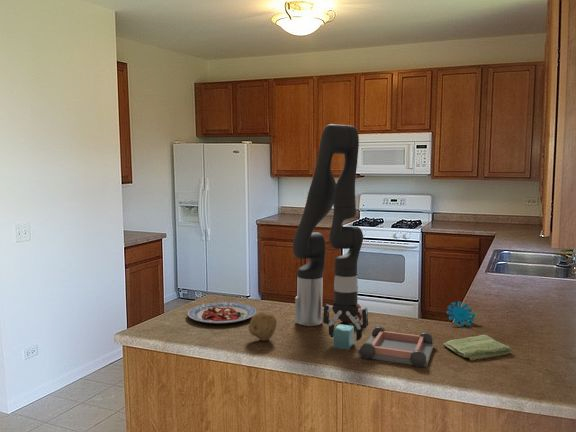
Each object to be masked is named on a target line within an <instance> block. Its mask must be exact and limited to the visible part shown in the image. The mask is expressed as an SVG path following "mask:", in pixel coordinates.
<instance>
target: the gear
mask: <svg viewBox="0 0 576 432" xmlns="http://www.w3.org/2000/svg"><path fill="white" fill-rule="evenodd" d="M462 304H463V303H462V302H461V301H457V303H456V302H455V301H454V302H453V301H452V302H451V304H449V305H448V306H447V309H448V310H447V311H446V314H447V315H449V316H448V319H449V320H450V321H452V320H454V321H453V322H452V323H453V324H454V325H455V326H456V325H457V324H458V323H459V322H460V323H459V326H460V327H462V328H463V327H464V326H466V327H470V325H471V324H472V323H474V321H475V320H474V319H475V318H476V317H477V316H478V313H476V312H475V313H472V312H473V309H472V307H469V306H468V304H467V303H464V304H463V306H461V305H462ZM467 307H469V308H467ZM464 322H465V323H464ZM464 324H465V325H464Z"/></svg>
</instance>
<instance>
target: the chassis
mask: <svg viewBox="0 0 576 432" xmlns="http://www.w3.org/2000/svg"><path fill="white" fill-rule="evenodd" d="M433 341H434V338H433V335H432V334H431V333H430V332H427V331H423V332H421V333H420V334H419V335H418V334H411V333H410V334H409V333H403V332H397V331H396V332H393V331H387V330H386V328H385V327H383V326H380V325H379V326H376V327H374V329H373V330H372V331H371V335H370V336H369V338H368V339H367V341H366V342H365V343H363V344H362V346H361V347H360V349H359V355H358V356H359V358H363V359H365V360H378V361H384V362H390V363H397V364H404V365H410V366H411V365H412V366H414V367H416V368H423V367H425V368H428V366H429V361H430V360H431V359H430V358H431V355H432V353H433V350H434V342H433Z"/></svg>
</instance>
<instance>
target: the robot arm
mask: <svg viewBox="0 0 576 432" xmlns="http://www.w3.org/2000/svg"><path fill="white" fill-rule="evenodd" d="M320 137H321V138H320V142H319V148H318V153H317V160H316V164H315V168H314V172H313V176H312V180H311V183H310V186H309V189H308V194H307V197H306V202H305V206H304V209H303V213H302V217H301V219H300V222H299V225H298V227H297V229H296V232H295V234H294V238H293V241H292V253H293V254H294V257H295V258H297V259H302V260H304V259H306V260H307V259H309V260H308V261H307V262H306V263H305V264H303V265H301V266H300V267H298V268H297V275H296V277H297V278H296V279H297V284H296V287H297V289H296V291H297V292H296V295H297V296H295V299H294V307H295V308H294V311H295V312H294V323H295V324H298V325H301V326H306V327H314V326H319V325H321V324H322V323H323V324H325V325H327V326H328V335H329V336H330V338H334V329H335V323H336V321H337V320H340V321H341V320H346V321H350V320H351V321H352V322H353V324H354V327H356V334H355V335H356V341H360V340H361V339H362V337H363V329H366V328H367V327H368V326H369V317H368V316H369V314H368V310H369V309H368V308H367V307H361V308H358V305H357V303H358V300H359V299H358V292H359V291H358V290H359V285H358V260H359V255H360V252H361V249H362V246H363V241H364V233H363V231H362V229H361V228H360V227H359V226H356V225H354V226H353V225H352V226H351V225H349V226H343V223H344V221H346V220H350V219H353V218H355V217H356V215H357V204H356V203H357V201H356V177H357V167H358V158H359V157H358V156H359V147H360V139H359V138H360V137H359V132H358V129H357V128H356V126H354V125H349V124H335V123H330V124H327V125H326V126H325V127H324V129H323V131H322V133H321V136H320ZM334 154H338V155H344V163H343V164H344V165H343V168H342V171H341V173H340V175H339V177H338V178H337V179H338V180H337V181H336V180H335V177H334V174H333V172H332V171H333V170H332V160H333V157H334ZM332 208H333V217H332V224H331V227H330V231H329V234H328V235H329V239H328V240H329V244H330V246H331V247H332V248H333V249H335V250H347V249H348V251H347V252H346V253H344V254H343V255H338V256H336V258H335V259H334V279H333V305H330V304H329V303H327V304H325V305H323V294H324V293H323V287H324V286H323V284H324V283H323V282H324V281H323V279H324V278H323V277H324V275H323V274H324V271H325V260H326V259H325V258H326V240H325V237H324V235H323V234H322V232H318V231H317V232H315V231H314V230H315V228H316V227H317V226H318V224H319V223H320V222H321V221H322V220H324V219H325V218H326V216H327V215H328V214H329V213H330V211H331V210H332ZM331 311H332V312H333V314H334V316H333V317H332V318H331V319H330V312H331ZM358 312H360V315H362V319H361V321H359V318H358V317H357V315H356V314H357V313H358Z"/></svg>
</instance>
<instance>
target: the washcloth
mask: <svg viewBox="0 0 576 432" xmlns="http://www.w3.org/2000/svg"><path fill="white" fill-rule="evenodd" d="M442 346H443V347H445V348H446V347H447V348H446V349H448V348H449V349H448V350H450V349H451V350H450V351H452V352H453V353H455V354H457V355H458V356H462V357H463V358H465V359H467V358H468V360H469V361H477V360H476V359H478V360H481V359H482V360H483V358H484V359H488V358H494V357H500V356H505V355H506V356H507V355H509V354H510V353H511V352H512V348H511V347H510V346H508V345H507V344H504V343H502V342H501V341H500V342H499V341H497V340H495V339H494V338H493V337H490V336H489V335H488V334H480V335H477V336H476V335H475V336H469V337H464V338H456V339H450V340H449V339H448V341H446V342H444V343H443V344H442Z"/></svg>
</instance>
